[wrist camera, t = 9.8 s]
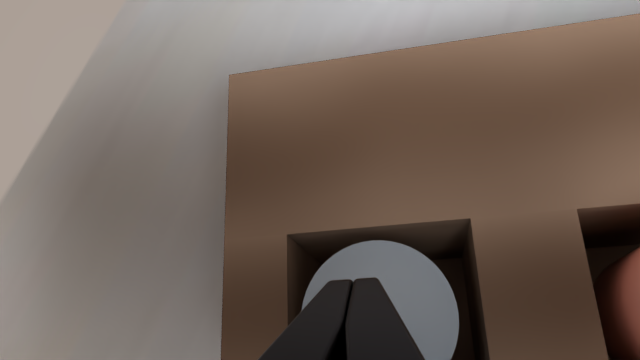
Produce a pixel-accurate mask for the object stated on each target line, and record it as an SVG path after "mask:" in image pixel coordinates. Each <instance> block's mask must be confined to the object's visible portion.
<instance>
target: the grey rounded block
mask: <svg viewBox="0 0 640 360" xmlns="http://www.w3.org/2000/svg"><path fill="white" fill-rule="evenodd" d="M371 277H376V278H378V279H379V281H380V282H381V284H382V286H383V288H384V289H385V291H386V293H387V294H388V296H389V298H390V300H391V301H392V303H393V305H394V307H395V308H396V310H397V312H398V313H399V315H400V317H401V319H402V320H403V322H404V324H405V326H406V327H407V329H408V331H409V332H410V334H411V336H412V338H413V339H414V341H415V343H416V345H417V346H418V348H419V350H420V351H421V353H422V355H423V357H424V358H425V360H451V358H452V356H453V353H454V350H455V347H456V343H457V339H458V332H459V314H458V308H457V303H456V300H455V297H454V293H453V291H452V289H451V287H450V285H449V282H448V281H447V279H446V278H445V276H444V275H443V273H442V272H441V271H440V270H439V268H438V267H437V266H436V265H435V264H434V263H433V262H432V261H431V260H430V259H429V258H427V257H426V256H425V255H423V254H422V253H420V252H419V251H417V250H415V249H413V248H411V247H409V246H406V245H403V244H400V243H396V242H392V241H384V240H372V241H365V242H360V243H357V244H353V245H351V246H348V247H346V248H344V249H342V250H340V251H339V252H337V253H335V254H334V255H333V256H332V257H330V258H329V259H328V260H327V261H326V262H325V263H324V264H323V265H322V266H321V267H320V268H319V269H318V271H317V272H316V273H315V275H314V277H313V278H312V280H311V282H310V284H309V286H308V288H307V290H306V293H305V297H304V300H303V305H302V310H303V309H304V308H305V306H306V305H307V304H308V303H309V302H310V301H311V300H312V299H313V298H314V297H315V295H316V294H317V293H318V292H319V291H320V290H321V289H322V288H323V287H324V285H325V284H326V283H327V282H329V281H331V280H342V279H351V280H352V281H353V282H354V280H355V279H358V278H371Z"/></svg>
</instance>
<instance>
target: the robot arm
mask: <svg viewBox="0 0 640 360" xmlns="http://www.w3.org/2000/svg"><path fill="white" fill-rule="evenodd" d="M257 360H425V358H424V357H423V355H422V353H421V351H420V350H419V348H418V346H417V345H416V343H415V341H414V339H413V338H412V336H411V334H410V332H409V331H408V329H407V327H406V326H405V324H404V322H403V320H402V319H401V317H400V315H399V313H398V312H397V310H396V308H395V307H394V305H393V303H392V301H391V300H390V298H389V296H388V294H387V293H386V291H385V289H384V288H383V286H382V284H381V282H380V281H379V279H378V278H376V277H371V278H358V279H355V280H354V282H353V281H352V280H351V279H342V280H331V281H329V282H327V283H326V284H325V285H324V287H323V288H322V289H321V290H320V291H319V292H318V293H317V294H316V295H315V297H314V298H313V299H312V300H311V301H310V302H309V303H308V304H307V305H306V306H305V308H304V309H303V310H302V311H301V312H300V313H299V314H298V315H297V316H296V318H295V319H294V320H293V321H292V322H291V323H290V324H289V325H288V326H287V327H286V329H285V330H284V331H283V332H282V333H281V334H280V335H279V336H278V337H277V338H276V340H275V341H274V342H273V343H272V344H271V345H270V346H269V347H268V348H267V350H266V351H265V352H264V353H263V354H262V355H261V356H260V357H259V358H258V359H257Z"/></svg>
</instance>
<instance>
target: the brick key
mask: <svg viewBox="0 0 640 360" xmlns="http://www.w3.org/2000/svg"><path fill="white" fill-rule="evenodd" d="M593 288H594V293H595V297H596V302H597V307H598V312H599V316H600V321H601V326H602V330H603V335H604V340H605V345H606V349H607V354H608V356H609V357H610V358H611V359H612V360H640V247H639V248H637V249H635V250H634V251H632V252H630V253H629V254H627V255H625V256H624V257H622V258H620V259H618V260H617V261H615V262H613V263H612V264H610V265H609V266H608V267H607V268H605V269H604V270H603V271H602V273H601V274H600V275H599V276H598V278H597V279H596V281H595V283H594V285H593Z"/></svg>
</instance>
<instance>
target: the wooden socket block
mask: <svg viewBox="0 0 640 360" xmlns="http://www.w3.org/2000/svg"><path fill="white" fill-rule="evenodd" d="M372 240H384V241H392V242H396V243H400V244H403V245H406V246H409V247H411V248H413V249H415V250H417V251H419V252H420V253H422V254H423V255H425V256H426V257H427V258H429V259H430V260H431V261H432V262H433V263H434V264H435V265H436V266H437V267H438V268H439V270H440V271H441V272H442V273H443V275H444V276H445V278H446V279H447V281H448V282H449V285H450V287H451V289H452V291H453V293H454V297H455V300H456V303H457V308H458V314H459V332H458V339H457V343H456V347H455V350H454V353H453V356H452V358H451V360H612V359H611V358H610V357H609V356H608V354H607V349H606V345H605V340H604V335H603V330H602V326H601V321H600V316H599V312H598V307H597V302H596V297H595V293H594V288H593V285H594V283H595V281H596V279H597V278H598V276H599V275H600V274H601V273H602V271H603V270H604V269H605V268H607V267H608V266H609V265H610V264H612V263H613V262H615V261H617V260H618V259H620V258H622V257H624V256H625V255H627V254H629V253H630V252H632V251H634V250H635V249H637V248H639V247H640V14H634V15H627V16H620V17H614V18H607V19H600V20H594V21H587V22H580V23H573V24H567V25H560V26H553V27H547V28H540V29H533V30H527V31H520V32H513V33H506V34H500V35H493V36H486V37H480V38H473V39H466V40H460V41H453V42H446V43H439V44H433V45H426V46H419V47H413V48H406V49H399V50H393V51H386V52H379V53H372V54H366V55H359V56H352V57H346V58H339V59H332V60H326V61H319V62H312V63H306V64H299V65H292V66H285V67H279V68H272V69H265V70H259V71H252V72H245V73H239V74H232V75H229V100H228V134H227V168H226V202H225V236H224V270H223V305H222V339H221V360H257V359H258V358H259V357H260V356H261V355H262V354H263V353H264V352H265V351H266V350H267V348H268V347H269V346H270V345H271V344H272V343H273V342H274V341H275V340H276V338H277V337H278V336H279V335H280V334H281V333H282V332H283V331H284V330H285V329H286V327H287V326H288V325H289V324H290V323H291V322H292V321H293V320H294V319H295V318H296V316H297V315H298V314H299V313H300V312H301V311H302V305H303V300H304V297H305V293H306V290H307V288H308V286H309V284H310V282H311V280H312V278H313V277H314V275H315V273H316V272H317V271H318V269H319V268H320V267H321V266H322V265H323V264H324V263H325V262H326V261H327V260H328V259H329V258H330V257H332V256H333V255H334V254H335V253H337V252H339V251H340V250H342V249H344V248H346V247H348V246H351V245H353V244H357V243H360V242H365V241H372Z"/></svg>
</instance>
